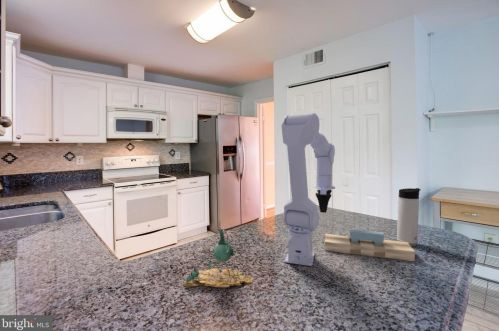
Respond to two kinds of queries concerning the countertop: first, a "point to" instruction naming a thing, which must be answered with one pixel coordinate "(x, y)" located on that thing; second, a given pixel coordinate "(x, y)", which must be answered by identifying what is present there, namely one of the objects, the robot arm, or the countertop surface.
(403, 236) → the travel mug
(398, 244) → the rail
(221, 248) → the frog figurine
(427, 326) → the countertop surface
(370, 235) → the clip
